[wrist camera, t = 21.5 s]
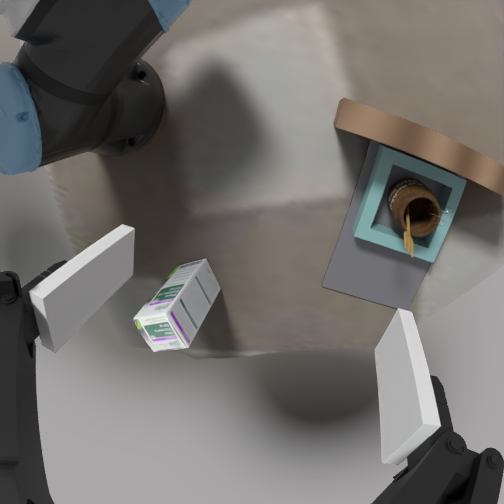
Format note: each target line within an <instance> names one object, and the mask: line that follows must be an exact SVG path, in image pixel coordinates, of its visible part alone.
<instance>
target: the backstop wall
mask: <svg viewBox="0 0 504 504" xmlns="http://www.w3.org/2000/svg"><path fill="white" fill-rule="evenodd" d="M333 124H334V125H335V127H336V128H339V129H342V130H346V131H349V132H352V133H355V134H358V135H361V136H364V137H367V138H370V139H373V140H375V141H378V142H381V143H384V144H387V145H389V146H392V147H395V148H397V149H400V150H403V151H405V152H408V153H410V154H413V155H415V156H418V157H420V158H423V159H425V160H428V161H430V162H432V163H435V164H437V165H439V166H442V167H444V168H446V169H448V170H451V171H453V172H455V173H457V174H459V175H462V176H464V177H466V178H468V179H470V180H472V181H474V182H476V183H478V184H480V185H482V186H484V187H486V188H488V189H490V190H492V191H494V192H496V193H498V194H500V195H502V196H504V166H503V165H501V164H499V163H497V162H496V161H494V160H492V159H490V158H488V157H486V156H484V155H483V154H481V153H479V152H477V151H475V150H473V149H471V148H469V147H467V146H465V145H463V144H461V143H459V142H457V141H454V140H452V139H450V138H448V137H446V136H444V135H441V134H439V133H437V132H435V131H432V130H430V129H428V128H425V127H423V126H421V125H418V124H416V123H413V122H411V121H408V120H406V119H403V118H401V117H398V116H396V115H393V114H390V113H387V112H385V111H382V110H379V109H376V108H373V107H371V106H368V105H365V104H362V103H359V102H355V101H352V100H349V99H346V98H343V99H341V100H340V101H339V104H338V108H337V112H336V116H335V119H334V123H333Z"/></svg>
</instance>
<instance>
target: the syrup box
mask: <svg viewBox="0 0 504 504" xmlns="http://www.w3.org/2000/svg"><path fill="white" fill-rule="evenodd" d="M220 289H221V288H220V286H219V284H218V281H217V279H216V277H215V275H214V273H213V271H212V269H211V267H210V265H209V263H208V261H207V259H206V258H205V259H201V260H198V261H193V262H190V263H186V264H183V265H180V266H177V267H176V268H175V269H174V270H173V271H172V272H171V274H170V275H169V276H168V277H167V278H166V279H165V281H164V282H163V283H162V284H161V285H160V287H159V288H158V289H157V290H156V291H155V293H154V294H153V295H152V296H151V297H150V299H149V300H148V301H147V302H146V304H145V305H144V306H143V307H142V308H141V310H140V311H139V312H138V313H137V315H136V316H135V317H134V318H133V320H134V322H135V324H136V326H137V328H138V330H139V331H140V333H141V335H142V336H143V338H144V339H145V341H146V342H147V343H148V345H149V346H150V347H151V349H152V350H153V352H157V351H165V350H177V349H184V348H189V346H190V344H191V342H192V341H193V339H194V337H195V335H196V333H197V331H198V330H199V328H200V326H201V324H202V322H203V321H204V319H205V317H206V315H207V313H208V311H209V310H210V308H211V306H212V304H213V302H214V300H215V299H216V297H217V295H218V293H219V291H220Z"/></svg>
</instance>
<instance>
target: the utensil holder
mask: <svg viewBox="0 0 504 504" xmlns="http://www.w3.org/2000/svg"><path fill="white" fill-rule="evenodd" d="M439 203H440V202H439ZM439 203H438V201H437V199H436V197H435V195H434V194H433V192H432V191H431V190H430V189H429V188H428V187H427V186H426V185H424V184H423V183H422V182H420V181H418V180H416V179H413V178H403V179H400V180H398V181H397V182H395V183H394V184H393V185H392V187H391V188H390V190H389V192H388V196H387V204H388V208H389V211H390V213H391V215H392V217H393V219H394V220H395V222H396V223H397V224H398V225H399V226H400V227H401V228H402V229H403V230H404V231H405V232H404V247H405V249H408V253H410V250H411V257H412V258H413V239H412V237H411V235H412V236H415V237H424V236H427V235H429V234H431V233H432V232H433V231H434V230H435V229H436V228H437V227H438V225H439V223H440V220H441V211H442V210H441V209H440V206H444V205H439ZM442 204H443V203H442ZM446 208H447V206H446ZM448 208H449V207H448ZM450 209H451V208H450ZM442 213H444V212H443V211H442ZM444 214H445V215H446V213H444ZM447 214H448V210H447ZM450 214H451V213H450ZM448 215H449V214H448ZM448 215H447V217H448V218H453V216H452V217H449V216H451V215H449V216H448ZM447 217H445V218H446V219H448V218H447ZM446 219H445V220H446ZM448 220H449V219H448ZM442 222H444V221H443V220H442ZM449 222H450V221H449ZM445 223H447V221H446V222H445ZM448 224H450V223H448ZM445 225H446V224H445ZM445 225H444V226H445ZM439 226H440V225H439Z"/></svg>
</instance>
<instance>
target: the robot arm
mask: <svg viewBox="0 0 504 504" xmlns="http://www.w3.org/2000/svg"><path fill="white" fill-rule="evenodd" d="M190 3H191V0H0V14H1V15H4V17H5V18H6V20H7V24H8V28H9V32H10V35H11V36H12V37H14V38H17V39H20V40H23V41H25V42H24V44H23V46H22V47H21V49H20V51H19V53H18V54H17V56H16V58H15V60H14V61H13V62H12V63H9V62H3V63H1V64H0V172H1V173H3V174H8V175H15V174H19V173H24V172H32V171H35V170H36V169H37V168H39V167H41V166H44V165H47V164H50V163H53V162H56V161H59V160H62V159H65V158H69V157H72V156H75V155H78V154H82V153H85V152H93V153H98V154H102V155H107V156H117V155H122V154H126V153H129V152H132V151H135V150H137V149H138V148H140V147H141V146H143V145H144V144H145V143H146V142H147V141H148V140H149V139H150V138H151V137H152V135H153V134H154V133H155V131H156V129H157V127H158V125H159V123H160V120H161V117H162V113H163V106H164V94H163V88H162V84H161V81H160V79H159V77H158V75H157V73H156V72H155V70H154V69H153V68H152V67H151V66H150V65H149V64H148V63H147V62H145V61H144V60H142V59H140V58H141V57H142V56H143V55H144V54H145V53H146V52H147V51H148V50H149V49H150V47H151V46H152V45H153V44H154V43H155V42H156V41H157V40H158V39H159V38H160V37H161V36H162V35H163V34H164V33H167V32H168V31H169V27H170V26H171V25H172V24H173V23H174V22H175V20H176V19H177V18H178V17H179V16H180V15H181V14H182V13H183V12H184V11H185V10H186V9H187V8H188V7H189V5H190ZM134 237H135V228H133V227H129V226H126V225H123V224H122V225H120V226H119V227H117V228H116V229H114V230H113V231H111V232H110V233H108V234H107V235H105V236H104V237H103V238H101V239H100V240H98V241H97V242H95V243H94V244H92V245H91V246H89V247H88V248H87V249H85V250H84V251H82V252H81V253H80V254H78V255H77V256H75V257H74V258H73V259H71V260H70V261H68V262H67V261H65V260H64V261H61V262H59V263H56V264H54V265H53V266H51V267H50V268H48V269H47V271H44V272H43V273H41V275H40V276H37V277H36V278H35V279H33V280H32V281H31V282H29V283H28V284H27V285H25V286H24V287H23V288H21V285H20V280H19V276H18V275H17V274H16V273H14V272H12V271H11V272H10V271H4V272H0V504H54V502H53V500H52V498H51V496H50V493H49V489H48V485H47V480H46V474H45V469H44V463H43V456H42V449H41V441H40V433H39V424H38V411H37V395H36V345H35V341H34V340H35V339H36V338H37V337H38V336H39V335H40V339H41V342H42V345H43V346H44V347H46V348H48V349H49V350H51V351H53V352H54V353H56V352H57V351H58V350H59V349H60V348H61V347H62V346H63V345H64V344H65V343H66V342H67V340H68V339H69V338H70V337H71V336H72V335H73V334H74V333H75V332H76V331H77V330H78V329H79V328H80V327H81V326H82V325H83V324H84V323H85V322H86V321H87V320H88V319H89V318H90V317H91V316H92V315H93V314H94V313H95V312H96V311H97V310H98V308H100V307H101V306H102V305H103V304H104V303H105V302H106V301H107V300H108V299H109V298H110V297H111V296H112V295H113V294H114V293H115V292H116V291H117V290H118V289H119V288H120V287H121V286H122V285H123V284H124V283H125V282H126V281H127V280H128V279H129V278H131V277H132V276H133V261H134ZM375 360H376V370H377V381H378V393H379V408H380V425H381V454H382V463H385V464H396V465H399V464H400V463H401V462H402V461H404V460H405V459H406V458H407V460H408V466H407V467H405V469H403V470H402V471H401V472H399V473H398V474H397V475H396V476H394V477H393V478H394V480H393V481H392V483H391V484H390V485H389V486H388V487H387V488H386V489H385V490H384V491H383V492H382V493H381V494H380V495H379V496H378V497H377V499H376V500H375V501H374V502H373V503H372V504H497V502H498V498H499V493H500V488H501V482H502V476H503V470H504V460H503V458H502V455H501V454H500V453H499V451H497V450H496V449H494V448H487V449H485V450H484V451H483V452H482V453H480V454H479V453H476V452H474V451H471V450H469V449H467V446H466V443H465V441H464V439H463V438H462V437H461V436H460V435H459V434H457V433H455V432H454V431H453V426H452V422H451V417H450V413H449V408H448V406H447V400H446V398H445V392H444V388H443V385H442V384H441V382H440V381H439V379H438V378H437V377H436V376H431V375H430V374H429V370H428V366H427V363H426V359H425V355H424V352H423V348H422V344H421V341H420V337H419V334H418V330H417V327H416V324H415V320H414V317H413V314H412V312H410V311H406V310H403V309H399V308H398V310H397V312H396V313H395V315H394V317H393V319H392V321H391V323H390V324H389V326H388V328H387V330H386V332H385V333H384V335H383V337H382V338H381V340H380V342H379V344H378V345H377V347H376V349H375Z"/></svg>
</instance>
